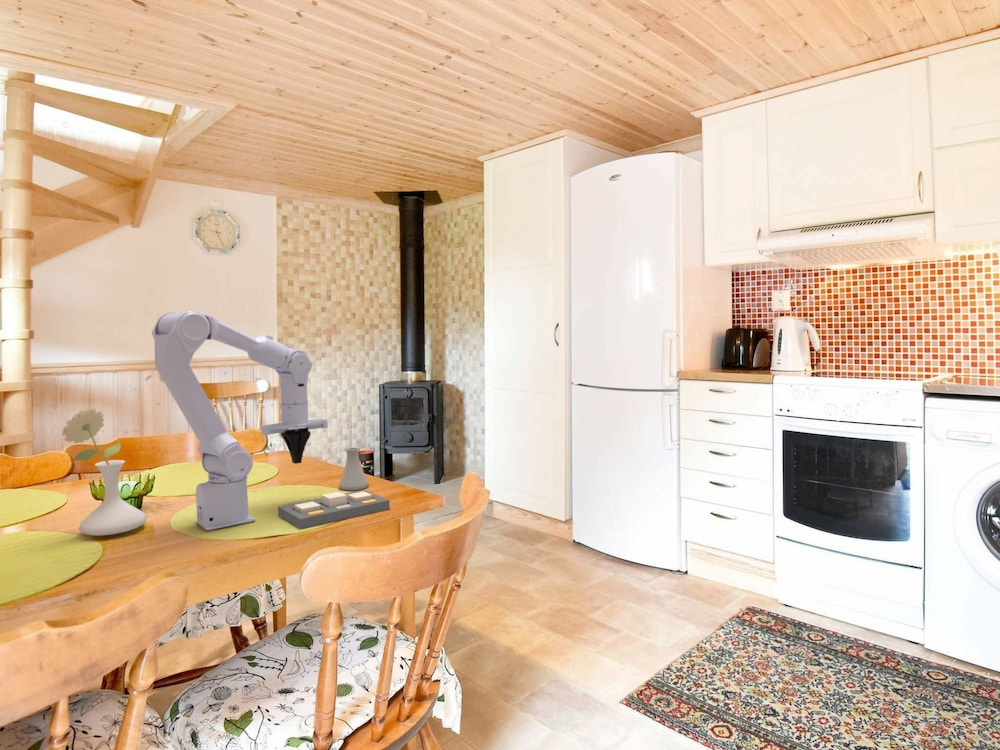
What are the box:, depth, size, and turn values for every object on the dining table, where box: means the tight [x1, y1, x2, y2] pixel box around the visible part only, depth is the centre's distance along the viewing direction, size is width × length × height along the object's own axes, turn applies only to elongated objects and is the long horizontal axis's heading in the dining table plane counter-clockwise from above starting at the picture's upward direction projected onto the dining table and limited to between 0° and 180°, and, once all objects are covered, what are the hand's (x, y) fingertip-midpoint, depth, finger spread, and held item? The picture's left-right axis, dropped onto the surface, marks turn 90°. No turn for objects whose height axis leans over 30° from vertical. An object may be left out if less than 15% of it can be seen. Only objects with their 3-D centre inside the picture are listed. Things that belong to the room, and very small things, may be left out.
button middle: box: [321, 491, 347, 508], centre depth 131 cm, size 4×4×2 cm
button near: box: [294, 501, 321, 514], centre depth 127 cm, size 4×4×2 cm
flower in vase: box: [62, 407, 148, 537], centre depth 119 cm, size 13×11×25 cm
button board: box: [277, 489, 391, 530], centre depth 131 cm, size 20×12×2 cm, turn 130°
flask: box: [338, 446, 370, 491], centre depth 152 cm, size 7×7×10 cm
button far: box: [347, 491, 372, 502], centre depth 135 cm, size 4×4×2 cm
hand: (296, 462), depth 138 cm, fingers closed
